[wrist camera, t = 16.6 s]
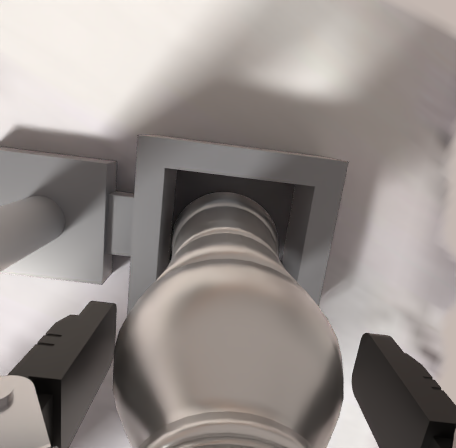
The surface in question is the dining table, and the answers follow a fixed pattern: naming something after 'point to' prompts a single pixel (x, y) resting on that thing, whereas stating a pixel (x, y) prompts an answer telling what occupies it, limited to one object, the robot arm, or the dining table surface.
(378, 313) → the dining table surface
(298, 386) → the plastic bottle
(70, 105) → the dining table surface
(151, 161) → the plug dock
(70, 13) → the dining table surface
